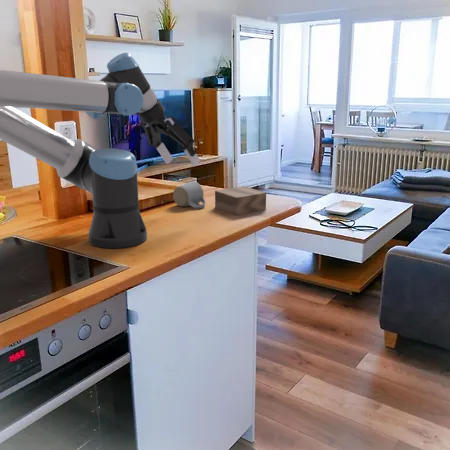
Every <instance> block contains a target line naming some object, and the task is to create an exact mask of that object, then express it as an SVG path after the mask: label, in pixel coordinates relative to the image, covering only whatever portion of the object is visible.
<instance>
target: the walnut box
mask: <svg viewBox="0 0 450 450" xmlns="http://www.w3.org/2000/svg"><path fill="white" fill-rule="evenodd" d="M214 207H215V209H218V210H221V211H224V212H226V213H229V214H231V215H234V216H241V215H246V214H251V213H256V212H261V211H266V210H267V192H265V191H262V190H258V189H254V188H251V187H249V186H248V187H247V186H244V185H242V186H237V187H236V186H235V187H231V188H223V189H218V190H217V189H216V190H215V191H214Z"/></svg>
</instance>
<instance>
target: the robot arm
mask: <svg viewBox="0 0 450 450" xmlns="http://www.w3.org/2000/svg"><path fill="white" fill-rule="evenodd" d="M106 69H107V70H108V73H107V75H105V76H104V77H102V78H101V79H99V80H96V79H85V78H77V77H70V76H69V77H67V76H61V75H60V76H58V75H51V74H42V73H34V72H32V73H31V72H22V71H14V70H5V69H0V140H1V141H3V142H5V143H7V144H9V145H11V146H13V147H15V148H16V149H18V150H19V151H22V152H24V153H26V154H27V155H30V156H31V157H33V158H35V159H37V160H39V161H41V162H43V163H45V164H46V165H49V166H50V167H52V168H54V169H55V170H56V172H57V175H58V177H59V178H62V179H64V181H67V182H68V183H70V184H73V185H74V186H75V187H77V188H78V189H81V190H84V191H86V192H88V193H91V195H92V205H93V215H92V219H91V222H90V227H89V229H88V230H89V231H88V242H89V244H90V245H92V246H94V247H96V248H103V249H121V248H122V249H123V248H129V247H134V246H137V245H140V244H142V243H143V242H145V241H146V240H147V238H148V231H147V228H146V225H145V222H144V220H143V217H142V214H141V212H140V206H139V205H140V204H139V186H138V185H139V183H138V181H139V180H138V165H137V158H136V156H135V155H134V154H133V153H132V152H130V151H129V150H125V149H119V148H109V147H108V148H99V149H98V148H97V147H95V146H93V145H91V144H89V143H88V142H86V141H84V140H83V139H81V138H77V139H73V140H72V139H70V138H69V137H66V136H64V135H63V134H62V133H60V132H58V131H56V130H54V129H52V127H49V126H47V125H46V124H44V123H42V122H41V121H39V120H37V119H35V118H33V116H30V115H29V114H27V113H25V112H23V111H22V110H20V109H18V108H24V109H42V110H55V111H56V110H57V111H58V110H59V111H70V112H72V111H74V112H84V113H85V114H86V115H87V116H88V117H90V118H91V119H93V120H99V118H101V117H104V116H105V114H117V115H123V116H132V115H135V114H137V116H138V118H139V119H140V120H141V122H140V125H141V126H142V128H143V130H144V133H145V137H146V139H147V143H148V146H151V147H154V148H156V150H157V152H158V153H159V154H160V156H161V158H162V159H163V161H164V162H165V164H166V165H169V164H170V163H171V162H172V161H173V160H174V158H173V156H172V155H171V153H170V151H169V150H168V149H167V147H166V145H165V143H164V142H163V141H162V140H161V136H162V135H164V136H167V137H168V136H169V137H170V138H171V139H172V140H174V141H175V142H176V143H177V144H179V145H180V147H182V148H183V149H182V150H183V152H184V153H185V155H186V156H187V158H188V160H189V162H190V164H191V165H192V166H193V167H196V166H197V165H198V164H199V163H200V162H201V159H200V158H199V155H198V154H197V152H196V150H195V148H194V146H193V145H194V143H195V142H196V141H195V140H194V139H193V137H192V136H190V134H189V133H188V132H186V130H185V129H183V127H182V126H181V125H180V124H179V123H178V122H177V121H176V119H175V117H173V116H170V117H168V118H167V117H166V116H165V107H164V106H163V104H162V102H161V101H160V100H159V99H158V96H157V95H156V93H155V91H154V90H153V88H152V87H151V85H150V83H149V81H148V80H147V78H146V76H145V74H144V72H142V69H141V68H140V65H139V64H138V63H137V61H136V60H135V58H134V57H133V55H132V54H131V53H129V52H122V53H120V54H117V55H116V56H114V57H113V58H112V59H110V60H109V61H108V62H107V64H106ZM161 134H162V135H161Z"/></svg>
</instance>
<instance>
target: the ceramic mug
mask: <svg viewBox="0 0 450 450" xmlns="http://www.w3.org/2000/svg"><path fill="white" fill-rule="evenodd" d="M202 187H203V186H201V184H200V183H199V182H197V181H194V180H193V181H189V182H187V183H184V184H181V185H179V186H177V187H175V188H174V190H173V193H172V197H173V201H174V202H175V204H176V205H177V206H178V207H181V208H184V207H192V208H194V209H200V210H201V209H203V208H204V207H206V200H205V198H204V189H203V188H202ZM199 203H201V204H199Z"/></svg>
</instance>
